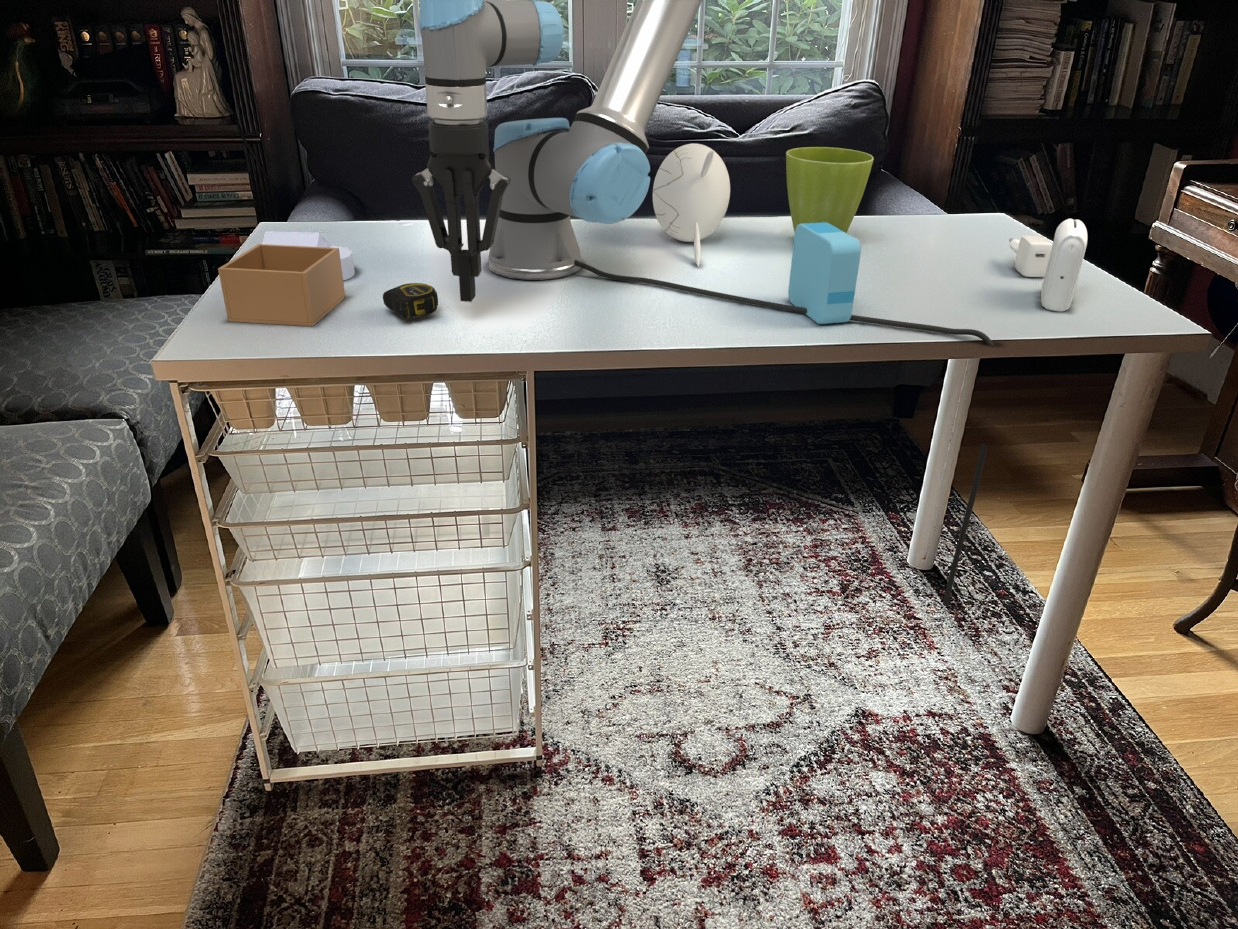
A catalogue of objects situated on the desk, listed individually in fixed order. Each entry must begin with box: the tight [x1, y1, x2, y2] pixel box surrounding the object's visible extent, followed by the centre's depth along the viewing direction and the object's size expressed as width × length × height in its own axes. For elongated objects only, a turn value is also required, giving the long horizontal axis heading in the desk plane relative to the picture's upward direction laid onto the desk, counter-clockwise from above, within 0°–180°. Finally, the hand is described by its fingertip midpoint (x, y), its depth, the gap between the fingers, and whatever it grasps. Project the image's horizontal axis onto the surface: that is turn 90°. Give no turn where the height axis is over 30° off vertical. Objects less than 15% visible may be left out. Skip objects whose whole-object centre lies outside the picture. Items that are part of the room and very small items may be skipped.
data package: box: [787, 222, 862, 325], centre depth 132 cm, size 12×4×12 cm, turn 15°
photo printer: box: [1040, 218, 1088, 312], centre depth 139 cm, size 10×4×12 cm, turn 158°
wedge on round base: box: [261, 230, 356, 281], centre depth 145 cm, size 9×7×13 cm
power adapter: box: [1008, 234, 1053, 278], centre depth 155 cm, size 11×5×6 cm, turn 176°
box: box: [217, 243, 346, 327], centre depth 130 cm, size 12×12×8 cm
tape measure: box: [382, 282, 439, 320], centre depth 130 cm, size 7×7×4 cm
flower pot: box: [785, 146, 875, 234], centre depth 162 cm, size 15×15×16 cm
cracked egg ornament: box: [652, 143, 731, 268], centre depth 161 cm, size 19×14×25 cm
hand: (468, 298), depth 128 cm, fingers closed
